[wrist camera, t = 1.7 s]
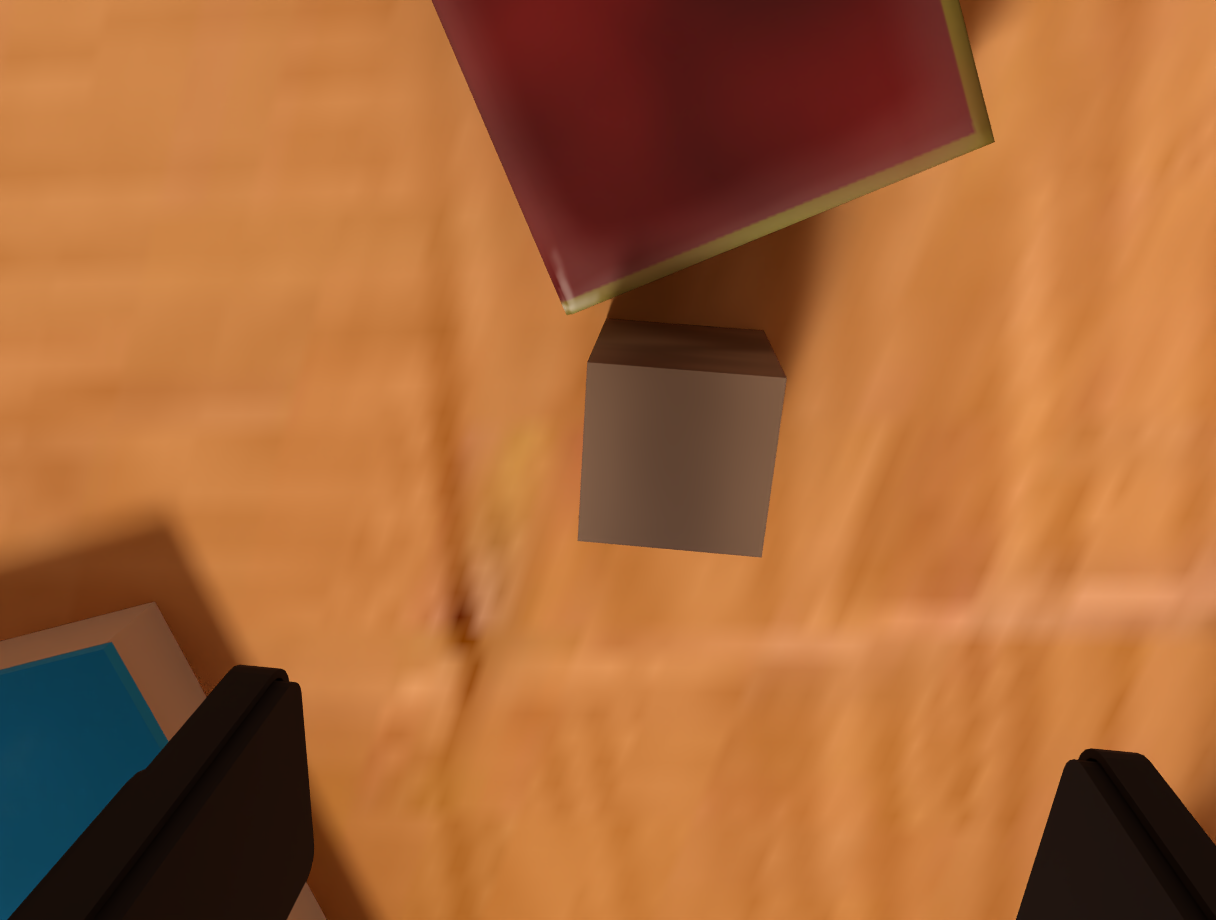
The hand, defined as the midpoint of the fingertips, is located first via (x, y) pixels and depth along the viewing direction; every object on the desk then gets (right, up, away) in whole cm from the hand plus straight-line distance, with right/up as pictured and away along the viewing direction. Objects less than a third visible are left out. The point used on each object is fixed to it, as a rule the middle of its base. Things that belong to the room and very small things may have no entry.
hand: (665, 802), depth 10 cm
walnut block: (+2, +6, +17) cm, 18 cm away
